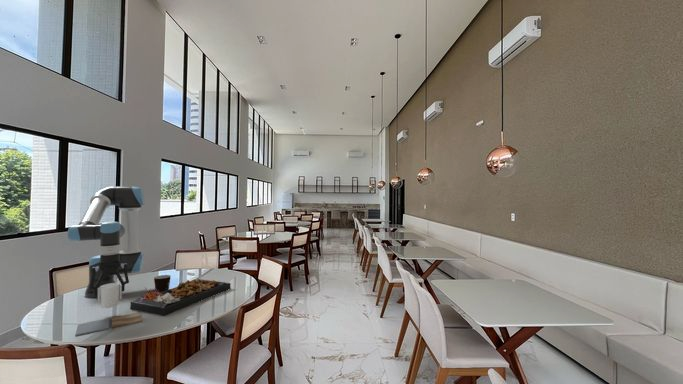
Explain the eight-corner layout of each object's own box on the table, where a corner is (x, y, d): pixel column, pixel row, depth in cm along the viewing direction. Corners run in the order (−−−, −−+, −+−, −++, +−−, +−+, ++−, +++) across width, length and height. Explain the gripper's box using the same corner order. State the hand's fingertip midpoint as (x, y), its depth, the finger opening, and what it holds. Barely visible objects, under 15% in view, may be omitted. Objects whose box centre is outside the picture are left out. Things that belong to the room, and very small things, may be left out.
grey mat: (78, 325, 132) (78, 324, 132) (109, 319, 139) (109, 318, 139) (75, 336, 122) (75, 334, 122) (109, 328, 128) (109, 327, 128)
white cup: (107, 303, 147) (107, 283, 147) (123, 302, 148) (123, 282, 148) (95, 309, 139) (95, 288, 139) (112, 308, 140) (112, 287, 140)
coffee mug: (162, 296, 171) (162, 279, 172) (150, 295, 173) (150, 278, 173) (177, 290, 183) (177, 273, 183) (165, 289, 184) (165, 273, 185)
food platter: (164, 317, 142) (164, 295, 143) (130, 310, 151) (130, 290, 152) (230, 290, 184) (230, 273, 185) (200, 285, 193) (201, 270, 193)
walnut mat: (112, 318, 139) (112, 317, 139) (140, 313, 146) (140, 311, 146) (112, 328, 129) (112, 326, 129) (142, 321, 136) (142, 320, 136)
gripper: (81, 257, 134) (81, 307, 134) (136, 252, 147) (135, 297, 147) (82, 255, 140) (82, 302, 140) (135, 250, 153) (135, 293, 153)
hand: (109, 300), depth 143 cm, fingers closed on white cup, 8 cm apart
